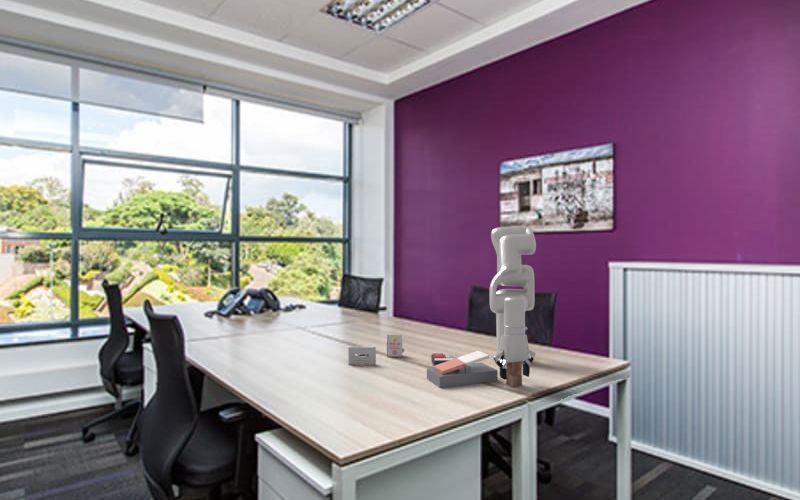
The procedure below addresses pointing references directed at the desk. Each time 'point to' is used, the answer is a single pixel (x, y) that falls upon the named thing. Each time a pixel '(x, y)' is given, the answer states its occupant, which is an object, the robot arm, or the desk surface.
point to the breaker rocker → (461, 362)
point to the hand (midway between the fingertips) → (514, 377)
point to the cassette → (362, 359)
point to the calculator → (442, 358)
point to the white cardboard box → (394, 345)
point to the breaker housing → (463, 375)
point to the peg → (514, 374)
